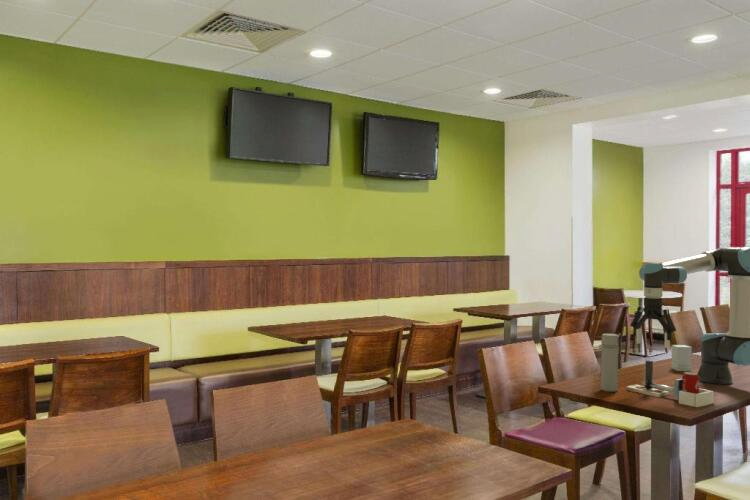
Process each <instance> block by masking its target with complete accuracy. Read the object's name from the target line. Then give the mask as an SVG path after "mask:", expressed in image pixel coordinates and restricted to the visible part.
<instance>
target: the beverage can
mask: <svg viewBox="0 0 750 500" xmlns="http://www.w3.org/2000/svg"><path fill="white" fill-rule="evenodd" d="M697 374H698V372H692V371H683V374H682V377H681V378H682V391H684V392H689V393H694V394H698V393H699V388H700V381H699V376H698V375H697Z"/></svg>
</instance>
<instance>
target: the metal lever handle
mask: <svg viewBox="0 0 750 500" xmlns="http://www.w3.org/2000/svg"><path fill="white" fill-rule="evenodd" d="M644 370H645V371H644V373H645V375H644V376H645V377H644V381H642V382H641V384H642V385H641V386H645V388H646V389H652V388H654V389H659V390H663V391H668V392H669V393H674V398H673V399H675V400H679V391H682V377H681V378H677V379H674V387H673V386H669V385H664V384H658V383H654V382H653V381H654V380H653V378H654V377H653V375H654V371H653V370H654V361H653V360H645V369H644Z"/></svg>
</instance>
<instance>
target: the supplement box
mask: <svg viewBox="0 0 750 500" xmlns="http://www.w3.org/2000/svg"><path fill="white" fill-rule="evenodd" d="M692 351H693V350H692V346H689V345H687V344H672V345H671V367H670V368H671V369H672V370H674V371H676V372H692Z"/></svg>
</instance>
